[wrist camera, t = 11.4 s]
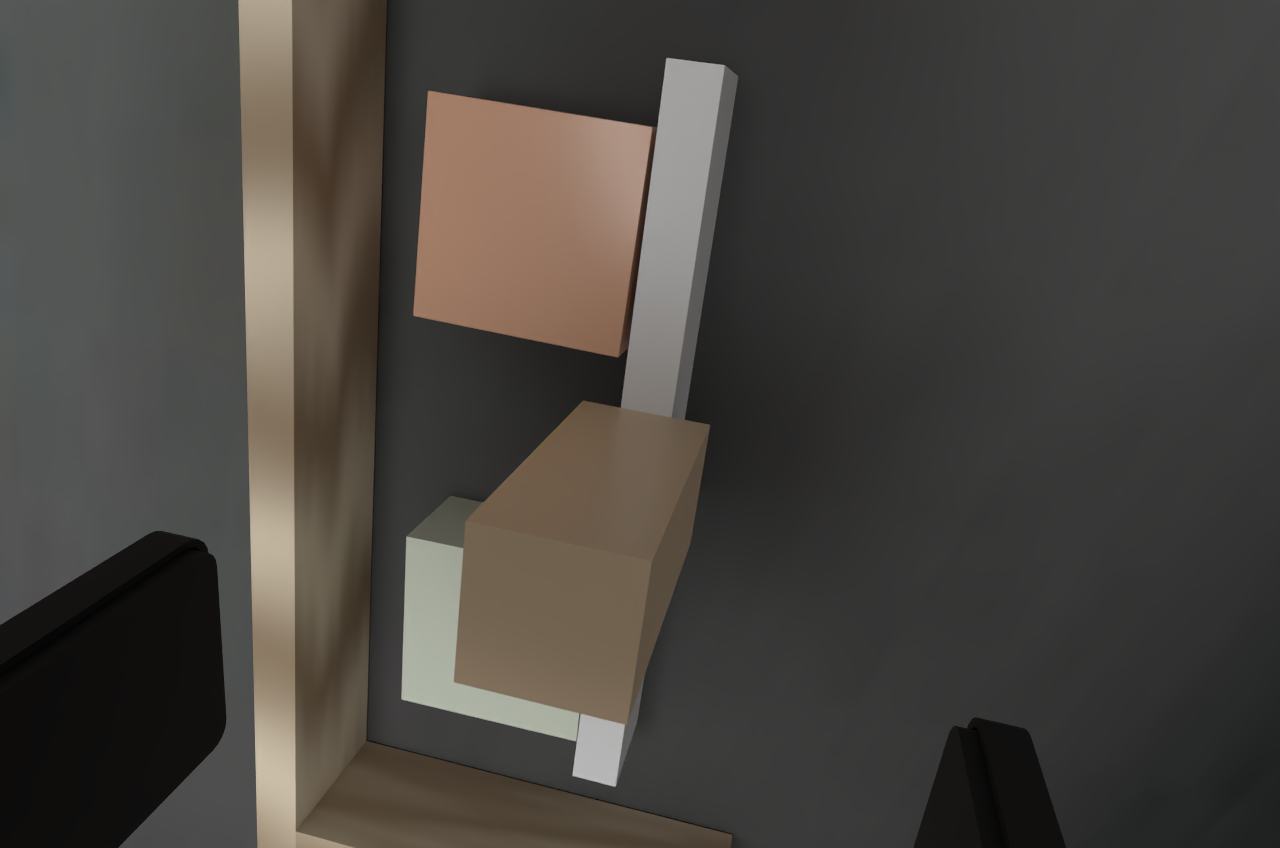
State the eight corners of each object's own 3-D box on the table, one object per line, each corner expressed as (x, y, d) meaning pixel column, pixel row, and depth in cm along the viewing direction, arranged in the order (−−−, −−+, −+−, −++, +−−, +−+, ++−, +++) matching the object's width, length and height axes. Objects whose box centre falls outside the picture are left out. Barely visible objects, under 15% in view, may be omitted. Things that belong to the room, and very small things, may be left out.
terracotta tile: (480, 97, 22) (428, 90, 19) (676, 129, 21) (652, 127, 18) (463, 295, 23) (413, 315, 20) (644, 331, 22) (617, 357, 20)
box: (343, -162, 20) (232, -234, 16) (924, -113, 18) (948, -180, 14) (331, 762, 29) (257, 853, 25) (725, 865, 27) (710, 982, 23)
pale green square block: (453, 492, 25) (406, 536, 22) (621, 525, 24) (594, 575, 21) (446, 641, 27) (401, 699, 24) (603, 676, 26) (576, 741, 23)
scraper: (651, 65, 20) (504, -6, 11) (777, 81, 20) (734, 21, 11) (571, 701, 26) (430, 1004, 17) (667, 725, 26) (577, 1050, 16)
